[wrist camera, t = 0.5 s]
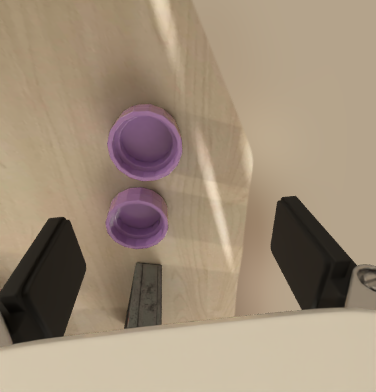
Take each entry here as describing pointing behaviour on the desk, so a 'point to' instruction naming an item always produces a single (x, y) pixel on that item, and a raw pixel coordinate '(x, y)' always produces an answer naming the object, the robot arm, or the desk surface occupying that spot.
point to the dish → (137, 218)
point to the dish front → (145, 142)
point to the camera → (145, 297)
